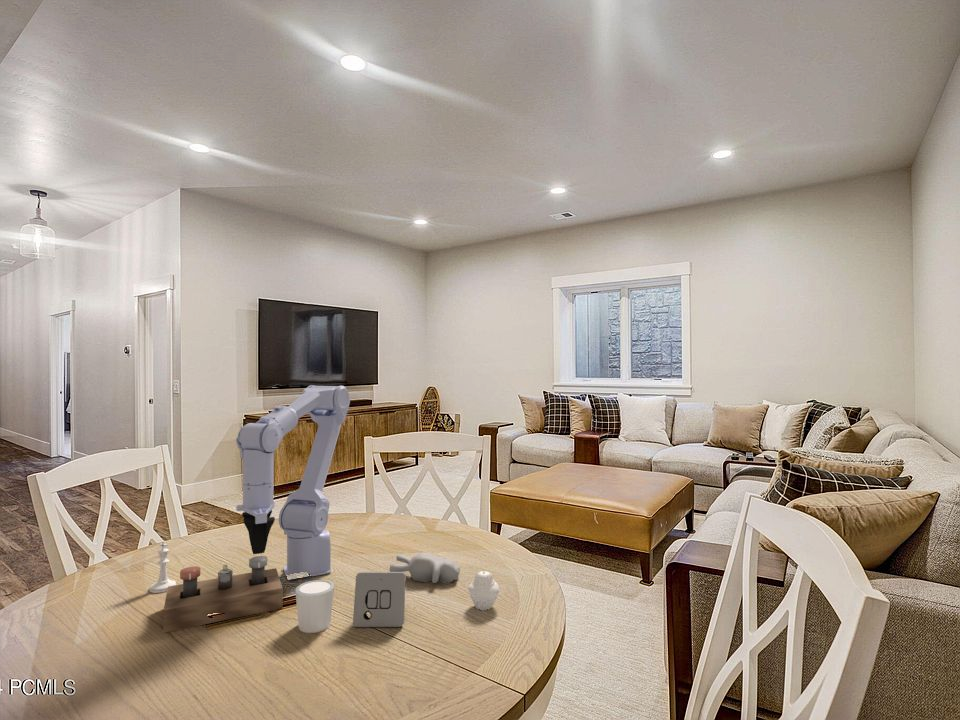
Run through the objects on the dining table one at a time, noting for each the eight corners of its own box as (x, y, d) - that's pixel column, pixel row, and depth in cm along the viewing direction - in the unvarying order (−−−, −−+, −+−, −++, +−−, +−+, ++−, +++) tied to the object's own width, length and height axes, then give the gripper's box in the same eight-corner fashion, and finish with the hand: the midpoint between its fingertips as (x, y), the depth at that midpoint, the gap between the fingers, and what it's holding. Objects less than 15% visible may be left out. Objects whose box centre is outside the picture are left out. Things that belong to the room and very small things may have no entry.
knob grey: (266, 580, 107) (266, 554, 107) (268, 586, 104) (268, 560, 104) (248, 583, 105) (248, 557, 105) (249, 590, 102) (249, 563, 102)
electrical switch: (352, 628, 94) (353, 575, 95) (358, 617, 99) (359, 567, 100) (403, 628, 94) (404, 575, 95) (407, 617, 99) (408, 567, 100)
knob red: (200, 591, 101) (200, 565, 101) (200, 599, 98) (200, 572, 98) (180, 595, 100) (180, 568, 100) (179, 603, 96) (179, 575, 96)
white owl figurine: (484, 617, 98) (484, 580, 98) (461, 607, 102) (461, 571, 102) (505, 606, 103) (505, 570, 103) (482, 596, 107) (482, 562, 107)
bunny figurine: (457, 570, 110) (389, 559, 112) (454, 594, 111) (386, 582, 112) (462, 554, 120) (400, 544, 121) (460, 576, 120) (397, 565, 121)
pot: (232, 583, 104) (232, 562, 104) (232, 588, 101) (232, 566, 101) (217, 586, 102) (217, 564, 102) (217, 591, 100) (217, 568, 100)
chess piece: (163, 594, 108) (164, 546, 108) (143, 591, 109) (144, 544, 109) (181, 584, 113) (182, 538, 113) (162, 582, 114) (162, 536, 114)
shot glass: (341, 619, 97) (341, 582, 97) (319, 637, 91) (319, 597, 91) (311, 613, 100) (311, 577, 100) (286, 630, 93) (287, 591, 93)
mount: (276, 586, 111) (276, 568, 111) (282, 608, 102) (282, 587, 102) (167, 606, 102) (167, 586, 102) (163, 632, 92) (163, 610, 92)
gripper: (235, 477, 109) (234, 541, 109) (238, 492, 96) (237, 565, 96) (270, 474, 112) (270, 536, 112) (278, 488, 100) (278, 559, 99)
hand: (257, 549), depth 104 cm, fingers open, 3 cm apart
